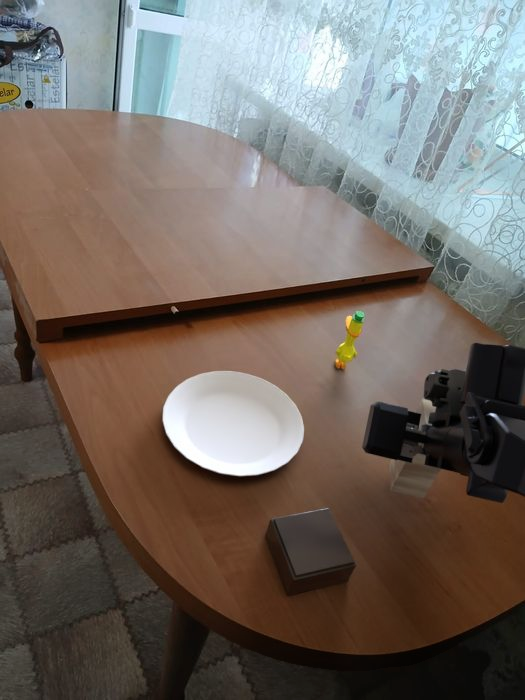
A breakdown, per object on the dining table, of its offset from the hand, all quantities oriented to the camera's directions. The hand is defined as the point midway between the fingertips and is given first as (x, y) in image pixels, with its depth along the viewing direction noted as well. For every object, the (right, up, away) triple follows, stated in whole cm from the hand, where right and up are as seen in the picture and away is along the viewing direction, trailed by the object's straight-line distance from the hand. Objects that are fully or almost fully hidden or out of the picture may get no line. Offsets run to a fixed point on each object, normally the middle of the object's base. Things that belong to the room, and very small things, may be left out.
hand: (422, 442), depth 72 cm
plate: (-26, 0, +9) cm, 27 cm away
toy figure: (-7, +9, +26) cm, 29 cm away
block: (-1, -6, +3) cm, 7 cm away
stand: (-16, -13, -5) cm, 21 cm away
